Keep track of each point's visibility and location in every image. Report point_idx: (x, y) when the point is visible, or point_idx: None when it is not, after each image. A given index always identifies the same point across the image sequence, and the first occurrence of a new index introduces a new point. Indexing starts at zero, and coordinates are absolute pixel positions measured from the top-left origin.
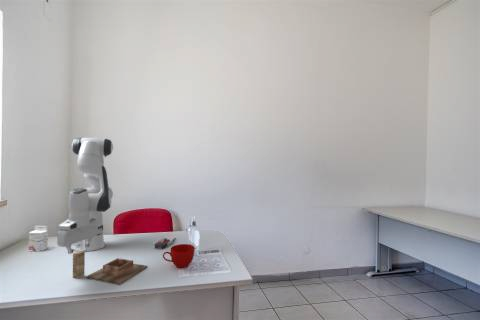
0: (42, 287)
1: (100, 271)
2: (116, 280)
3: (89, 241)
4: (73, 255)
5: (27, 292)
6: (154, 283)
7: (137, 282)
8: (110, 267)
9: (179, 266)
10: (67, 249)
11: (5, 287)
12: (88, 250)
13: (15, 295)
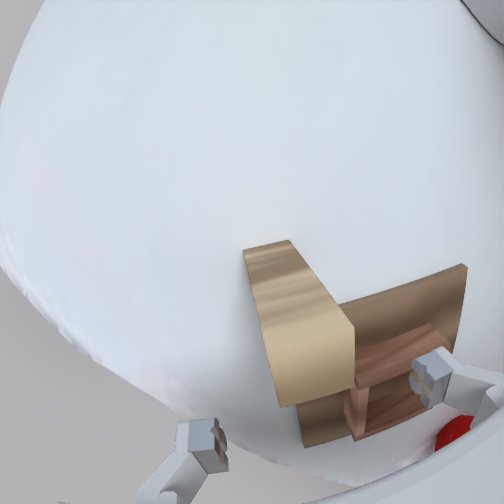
0: (87, 234)
1: (355, 328)
2: (312, 433)
3: (462, 406)
4: (264, 343)
5: (35, 231)
6: (347, 469)
7: (337, 452)
8: (355, 411)
9: (435, 445)
10: (167, 461)
11: (8, 88)
12: (469, 6)
13: (5, 218)
